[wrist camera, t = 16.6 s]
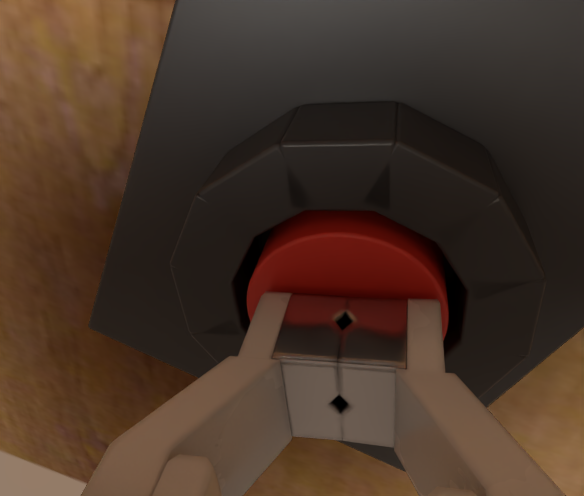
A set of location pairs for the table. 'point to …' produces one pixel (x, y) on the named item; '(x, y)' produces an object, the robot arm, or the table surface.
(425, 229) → the button box
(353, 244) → the button
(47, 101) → the table surface
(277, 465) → the table surface
